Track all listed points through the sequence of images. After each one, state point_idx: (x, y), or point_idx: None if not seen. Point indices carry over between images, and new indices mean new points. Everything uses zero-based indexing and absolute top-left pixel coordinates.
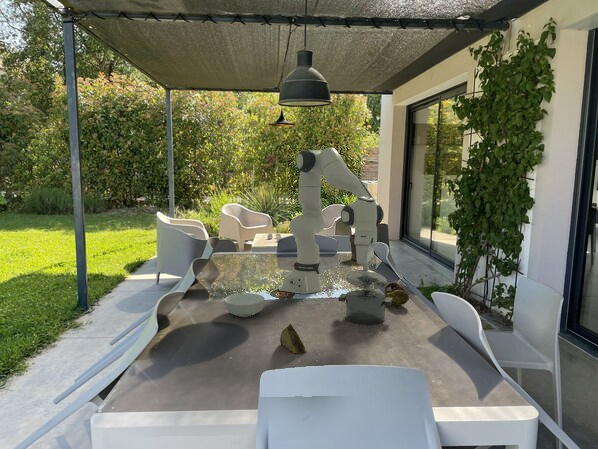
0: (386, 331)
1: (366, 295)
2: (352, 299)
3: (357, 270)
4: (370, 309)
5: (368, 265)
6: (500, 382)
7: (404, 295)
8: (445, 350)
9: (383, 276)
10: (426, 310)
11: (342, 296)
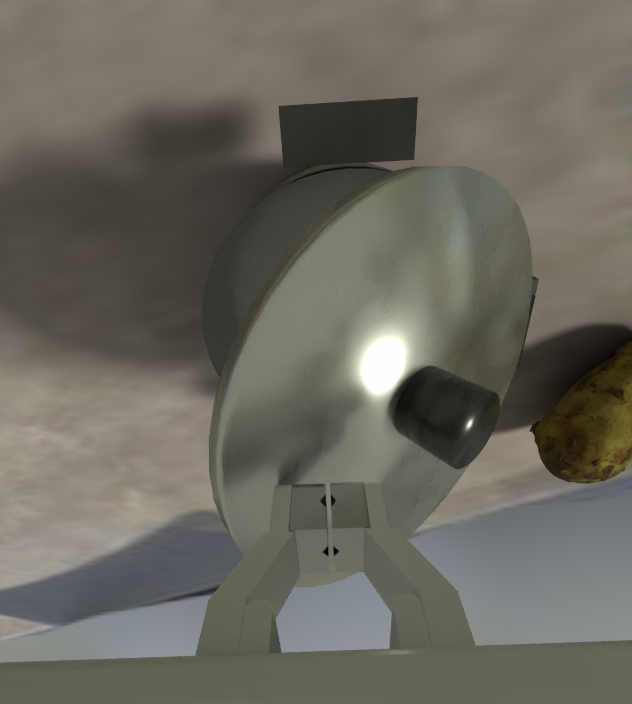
0: (205, 394)
1: None
2: (212, 265)
3: (226, 436)
4: None
5: (373, 582)
6: (34, 622)
7: (553, 470)
8: (140, 548)
9: (347, 573)
10: (514, 489)
11: (321, 136)
